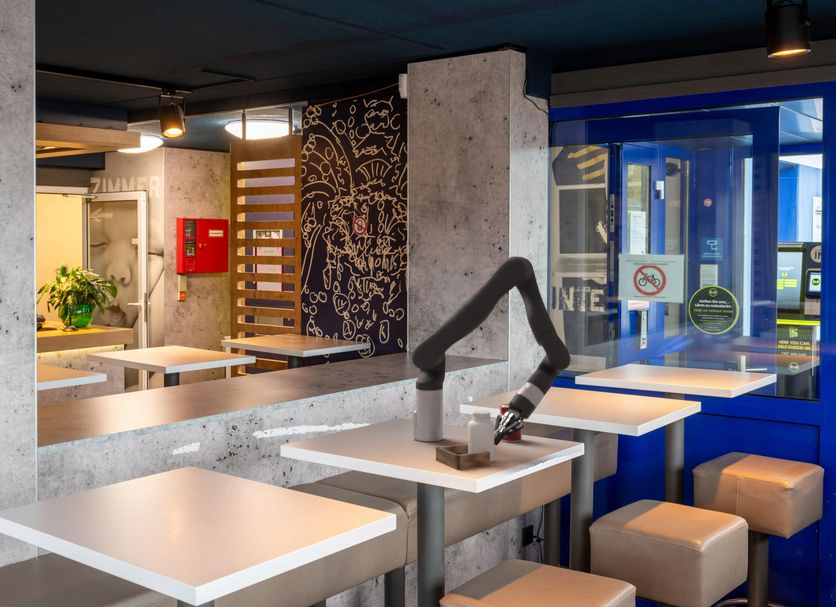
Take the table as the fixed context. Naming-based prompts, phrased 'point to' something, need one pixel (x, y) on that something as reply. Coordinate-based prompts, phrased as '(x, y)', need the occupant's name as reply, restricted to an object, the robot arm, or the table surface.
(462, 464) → the holder
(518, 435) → the soda can
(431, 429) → the robot arm
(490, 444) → the pill bottle
